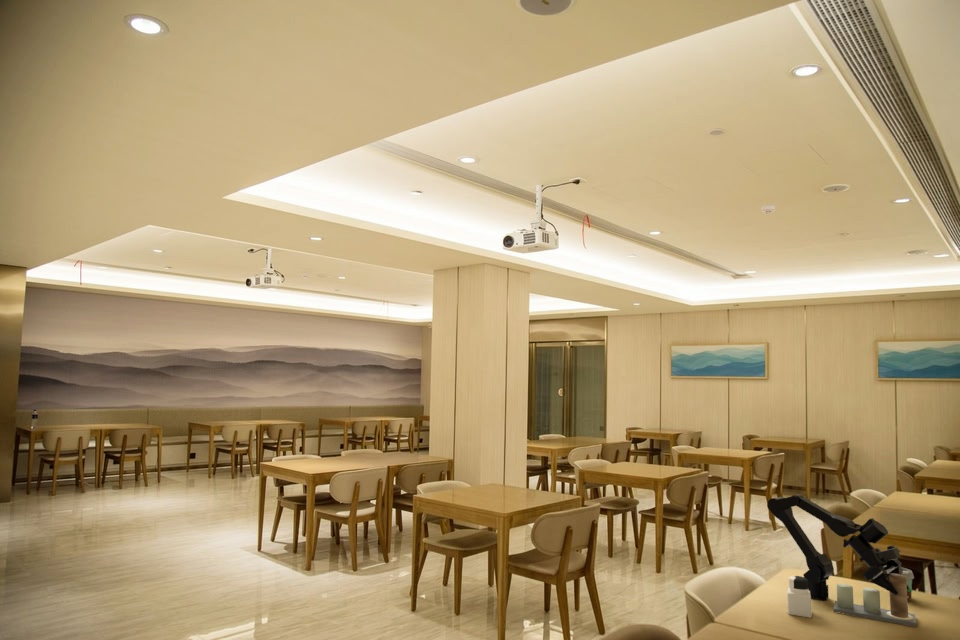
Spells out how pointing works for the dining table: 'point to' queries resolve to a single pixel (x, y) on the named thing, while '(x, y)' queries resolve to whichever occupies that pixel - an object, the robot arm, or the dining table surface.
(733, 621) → the dining table surface
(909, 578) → the food container
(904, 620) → the slate board
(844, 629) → the dining table surface
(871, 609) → the sage posts
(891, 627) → the dining table surface
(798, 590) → the medicine bottle
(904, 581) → the walnut post
